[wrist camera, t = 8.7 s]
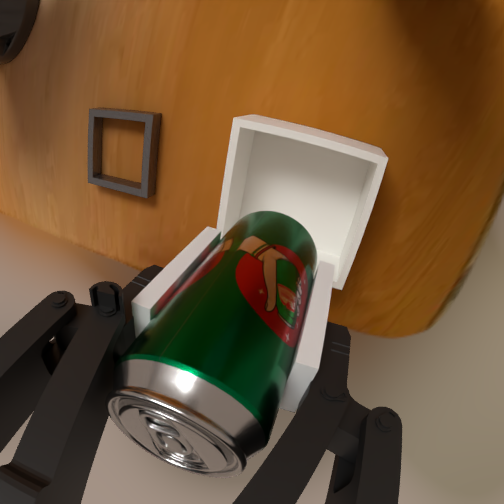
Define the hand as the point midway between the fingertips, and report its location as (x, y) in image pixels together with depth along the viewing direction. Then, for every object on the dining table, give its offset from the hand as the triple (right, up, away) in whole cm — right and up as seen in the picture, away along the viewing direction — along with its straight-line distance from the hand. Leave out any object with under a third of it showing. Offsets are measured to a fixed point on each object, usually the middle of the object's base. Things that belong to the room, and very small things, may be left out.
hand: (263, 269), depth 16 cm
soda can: (+1, +1, +2) cm, 2 cm away
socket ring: (-14, +12, +15) cm, 24 cm away
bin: (+4, +6, +12) cm, 14 cm away
